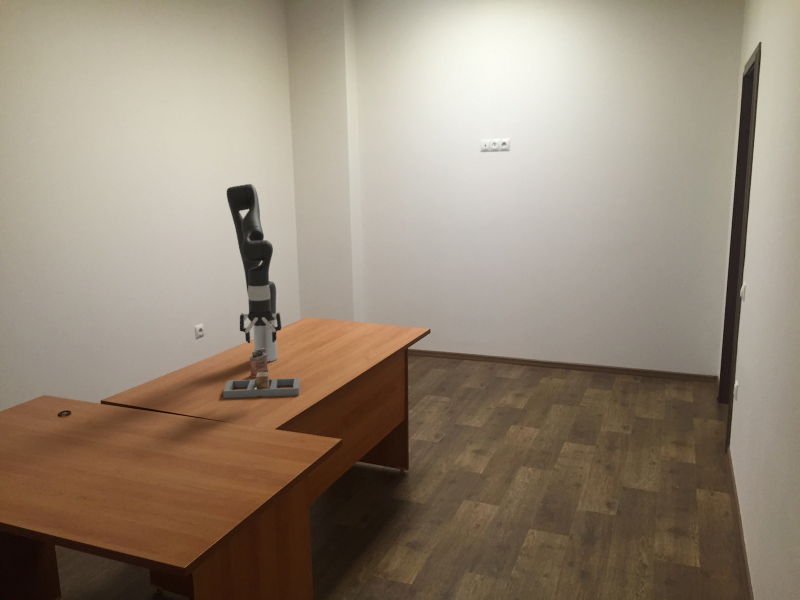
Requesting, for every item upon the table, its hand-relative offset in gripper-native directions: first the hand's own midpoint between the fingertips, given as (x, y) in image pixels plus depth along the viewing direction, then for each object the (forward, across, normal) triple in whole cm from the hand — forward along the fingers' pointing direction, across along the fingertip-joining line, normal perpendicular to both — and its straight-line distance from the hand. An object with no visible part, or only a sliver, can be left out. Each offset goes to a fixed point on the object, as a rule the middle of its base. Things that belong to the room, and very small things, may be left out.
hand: (261, 342), depth 227 cm
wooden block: (+18, 0, 0) cm, 18 cm away
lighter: (+19, -3, +20) cm, 27 cm away
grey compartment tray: (+18, 0, 0) cm, 18 cm away
